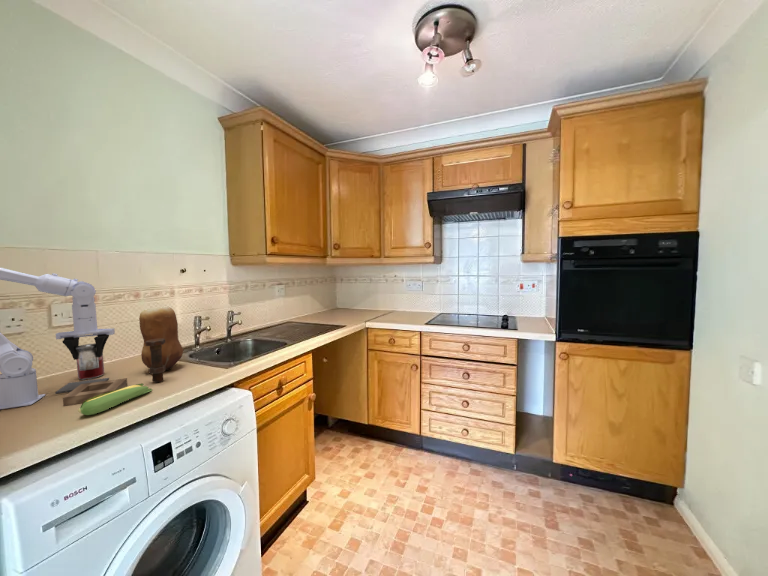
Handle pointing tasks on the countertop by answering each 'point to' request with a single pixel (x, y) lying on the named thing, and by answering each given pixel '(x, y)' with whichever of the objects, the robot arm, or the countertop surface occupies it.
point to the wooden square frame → (92, 390)
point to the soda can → (91, 370)
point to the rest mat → (73, 385)
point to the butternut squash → (161, 335)
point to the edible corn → (112, 399)
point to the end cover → (87, 356)
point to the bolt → (156, 359)
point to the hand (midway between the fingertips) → (88, 357)
